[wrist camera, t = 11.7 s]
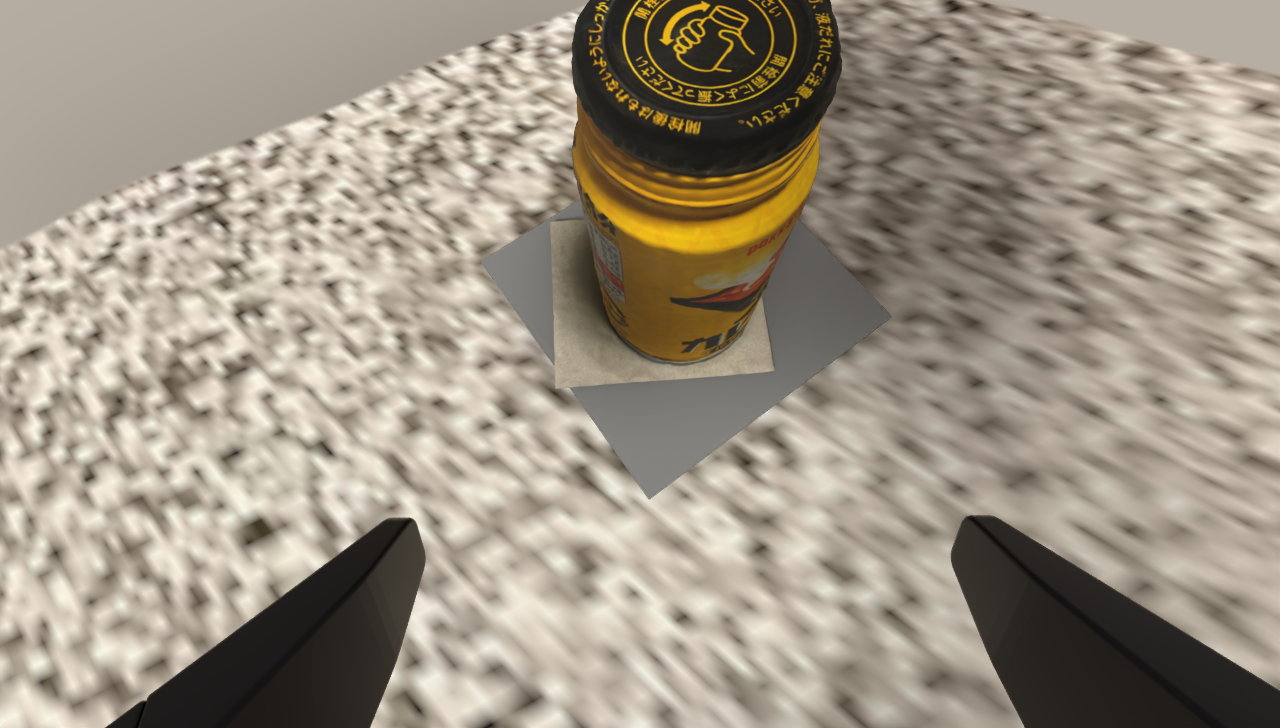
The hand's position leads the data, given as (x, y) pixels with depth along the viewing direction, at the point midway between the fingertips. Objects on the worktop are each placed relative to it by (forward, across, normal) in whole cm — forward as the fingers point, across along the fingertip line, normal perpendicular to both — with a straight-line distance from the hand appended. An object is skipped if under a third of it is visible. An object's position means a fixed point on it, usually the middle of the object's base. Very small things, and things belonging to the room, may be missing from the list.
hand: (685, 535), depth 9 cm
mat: (+14, -1, +1) cm, 14 cm away
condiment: (+14, 0, +1) cm, 14 cm away
